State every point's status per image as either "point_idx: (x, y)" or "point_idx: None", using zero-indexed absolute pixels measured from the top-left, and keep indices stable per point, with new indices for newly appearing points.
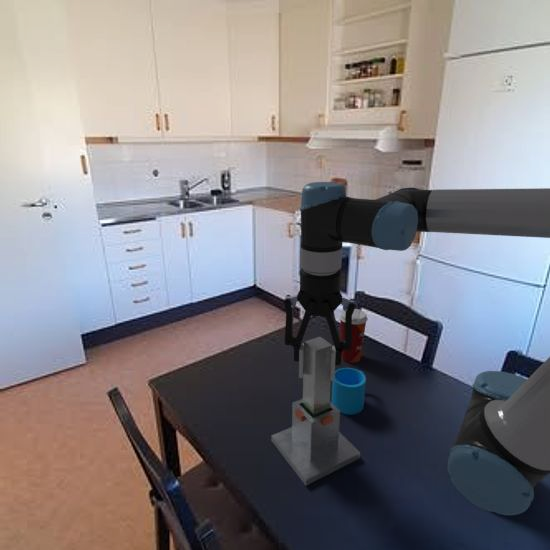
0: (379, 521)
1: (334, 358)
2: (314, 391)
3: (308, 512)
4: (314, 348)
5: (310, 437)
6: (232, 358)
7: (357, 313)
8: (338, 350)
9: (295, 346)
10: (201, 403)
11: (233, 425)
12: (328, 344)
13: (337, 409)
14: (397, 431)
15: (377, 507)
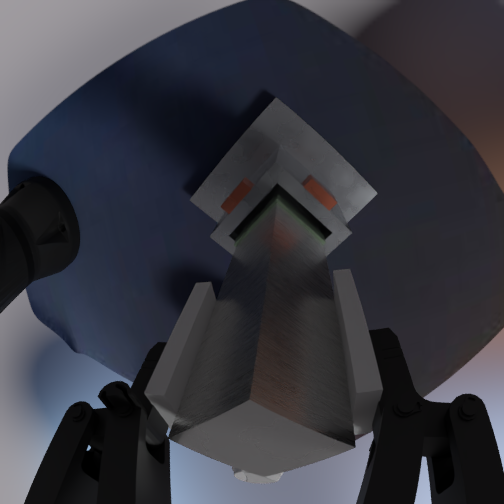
0: (141, 83)
1: (161, 366)
2: (273, 230)
3: (255, 49)
4: (266, 417)
5: (279, 155)
6: (456, 360)
7: (250, 478)
8: (122, 405)
9: (414, 403)
10: (498, 250)
11: (447, 212)
12: (192, 444)
13: (217, 239)
14: (152, 275)
15: (147, 105)
